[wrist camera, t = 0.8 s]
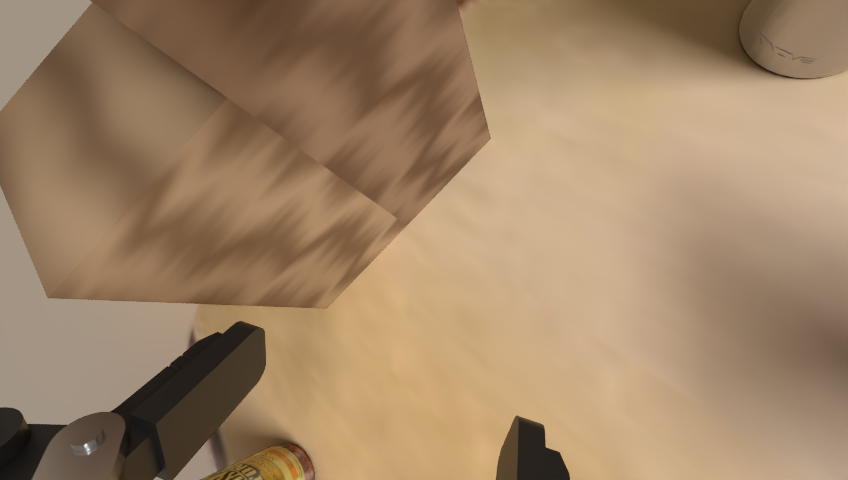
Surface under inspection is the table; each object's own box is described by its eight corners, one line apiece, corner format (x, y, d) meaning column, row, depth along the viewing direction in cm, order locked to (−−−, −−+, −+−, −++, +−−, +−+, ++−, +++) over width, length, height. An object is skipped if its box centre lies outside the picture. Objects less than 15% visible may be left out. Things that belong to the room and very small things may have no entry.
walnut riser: (409, 73, 39) (-23, -761, 9) (490, 138, 35) (202, -1013, 5) (264, 228, 40) (-533, -31, 10) (326, 308, 36) (-703, 269, 6)
